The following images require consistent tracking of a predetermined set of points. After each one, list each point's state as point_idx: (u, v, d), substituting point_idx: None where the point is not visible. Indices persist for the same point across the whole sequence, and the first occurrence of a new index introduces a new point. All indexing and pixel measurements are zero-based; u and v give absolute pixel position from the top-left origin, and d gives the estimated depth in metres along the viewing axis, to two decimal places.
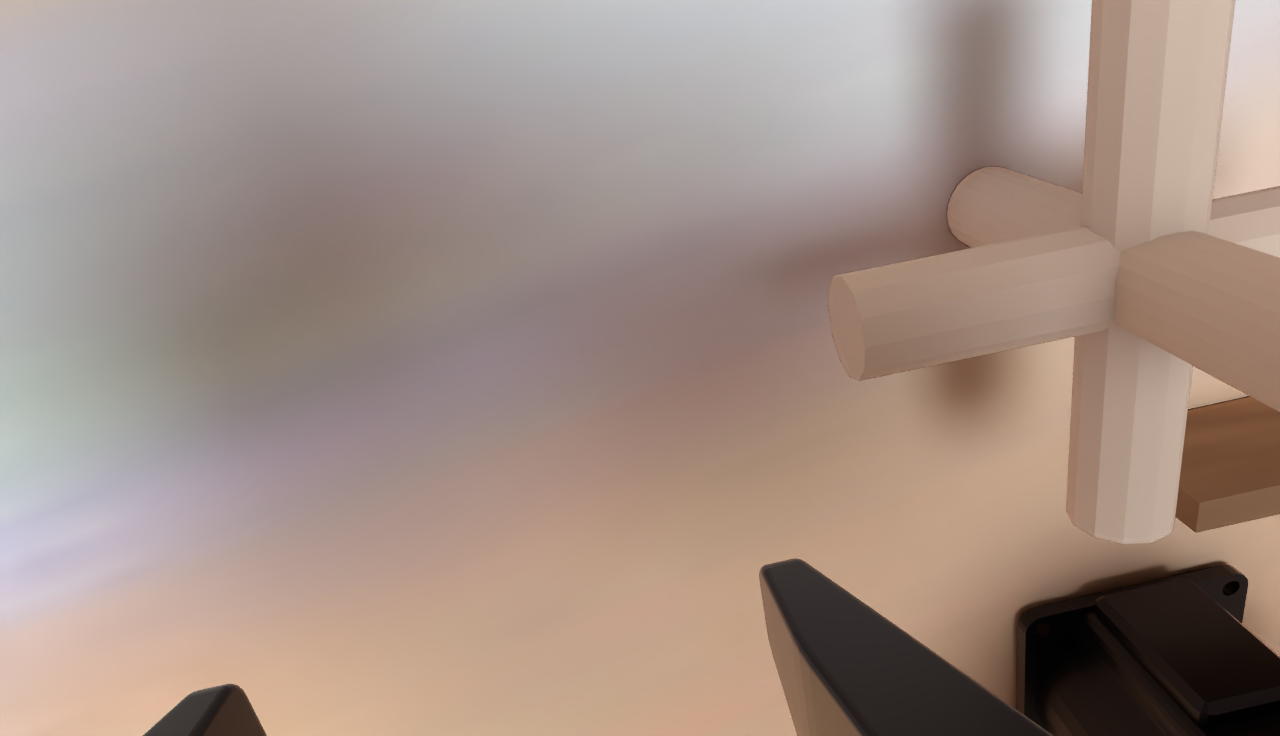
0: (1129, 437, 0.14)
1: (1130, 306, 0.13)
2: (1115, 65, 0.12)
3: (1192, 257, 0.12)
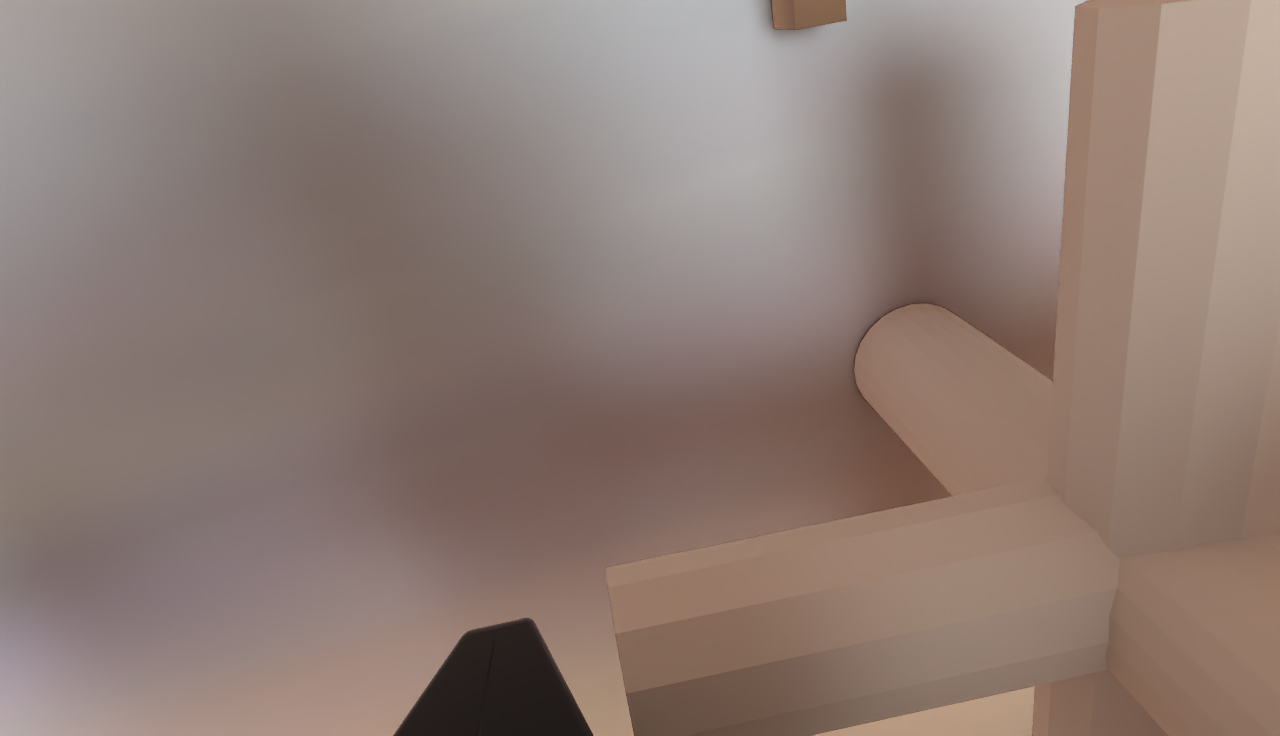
0: None
1: (1139, 678, 0.07)
2: (1115, 228, 0.06)
3: (1268, 626, 0.06)
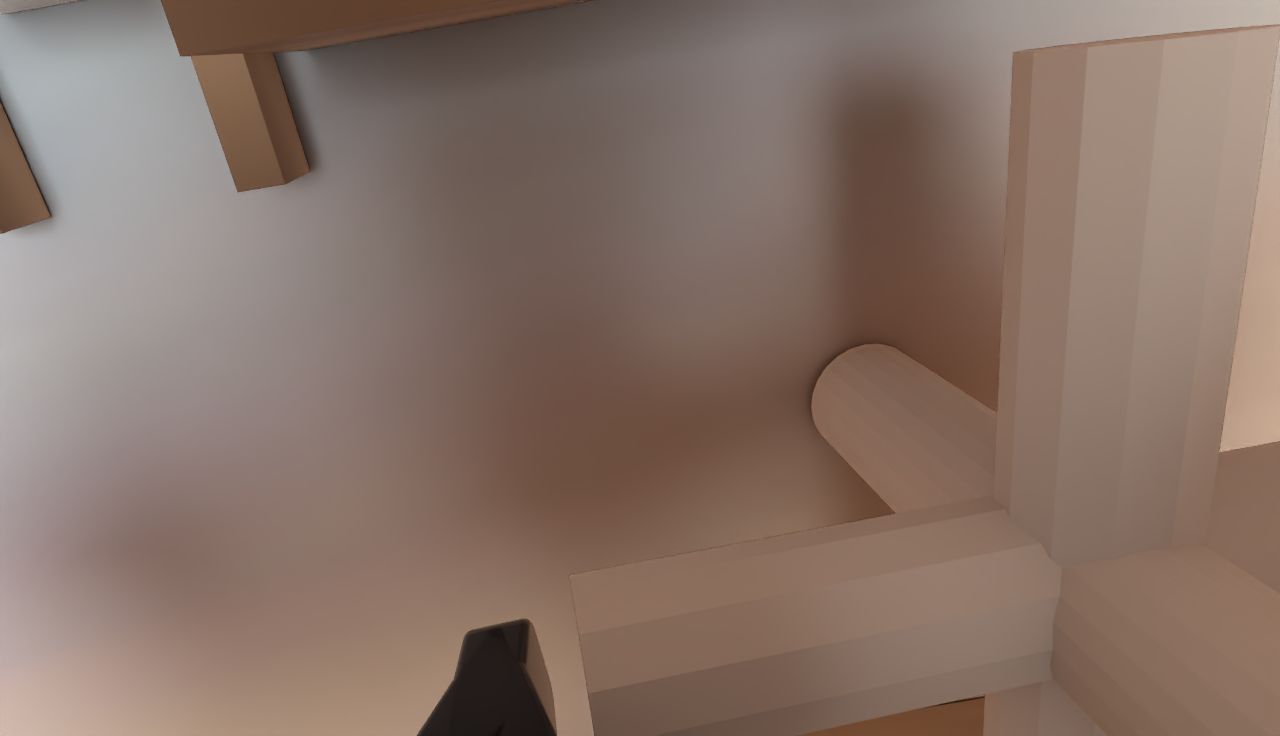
0: None
1: (1081, 681, 0.07)
2: (1051, 251, 0.07)
3: (1197, 623, 0.06)
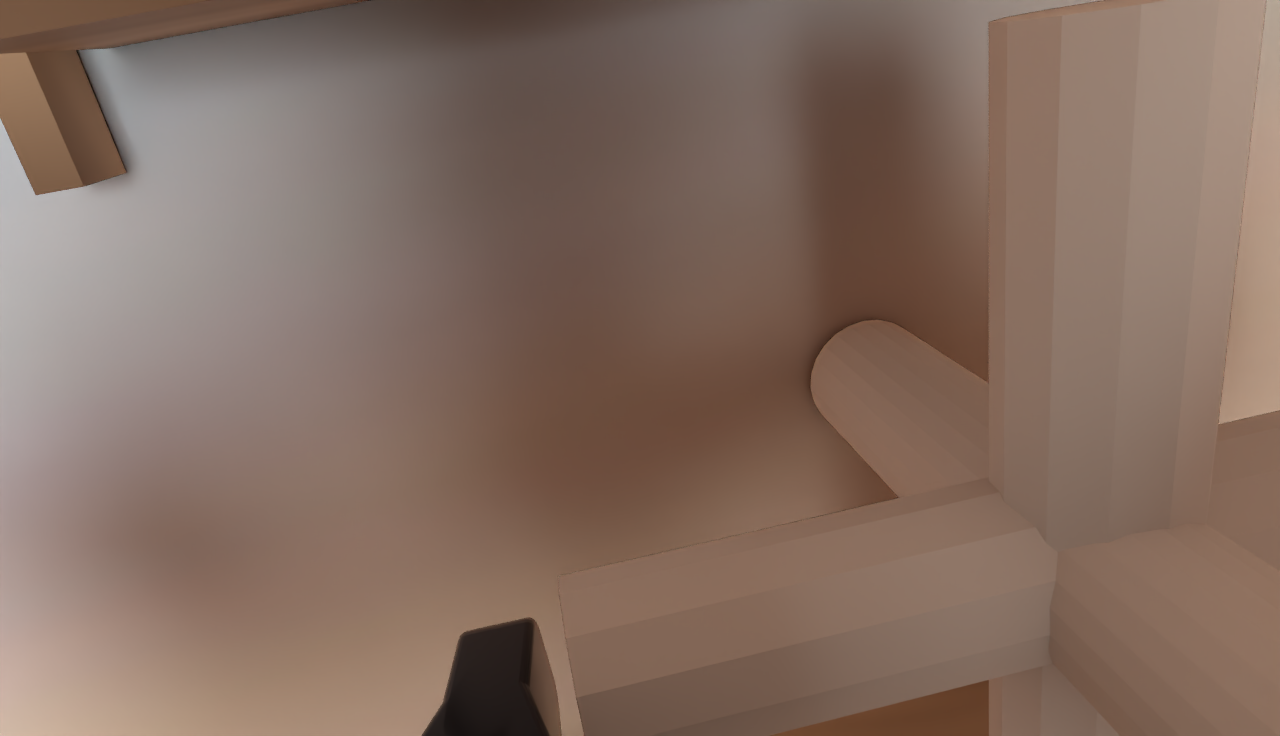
0: None
1: (1078, 666, 0.07)
2: (1034, 229, 0.06)
3: (1194, 608, 0.06)
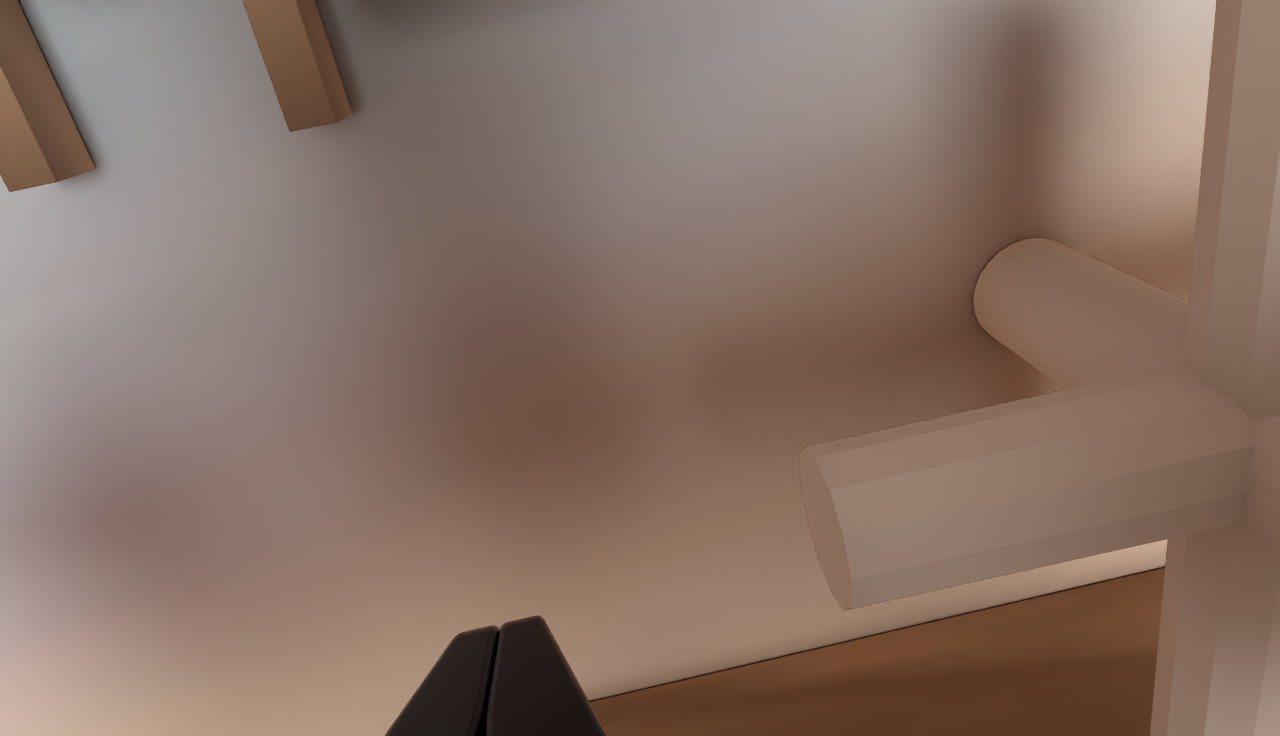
0: (1258, 678, 0.09)
1: (1278, 516, 0.08)
2: (1258, 134, 0.07)
3: None
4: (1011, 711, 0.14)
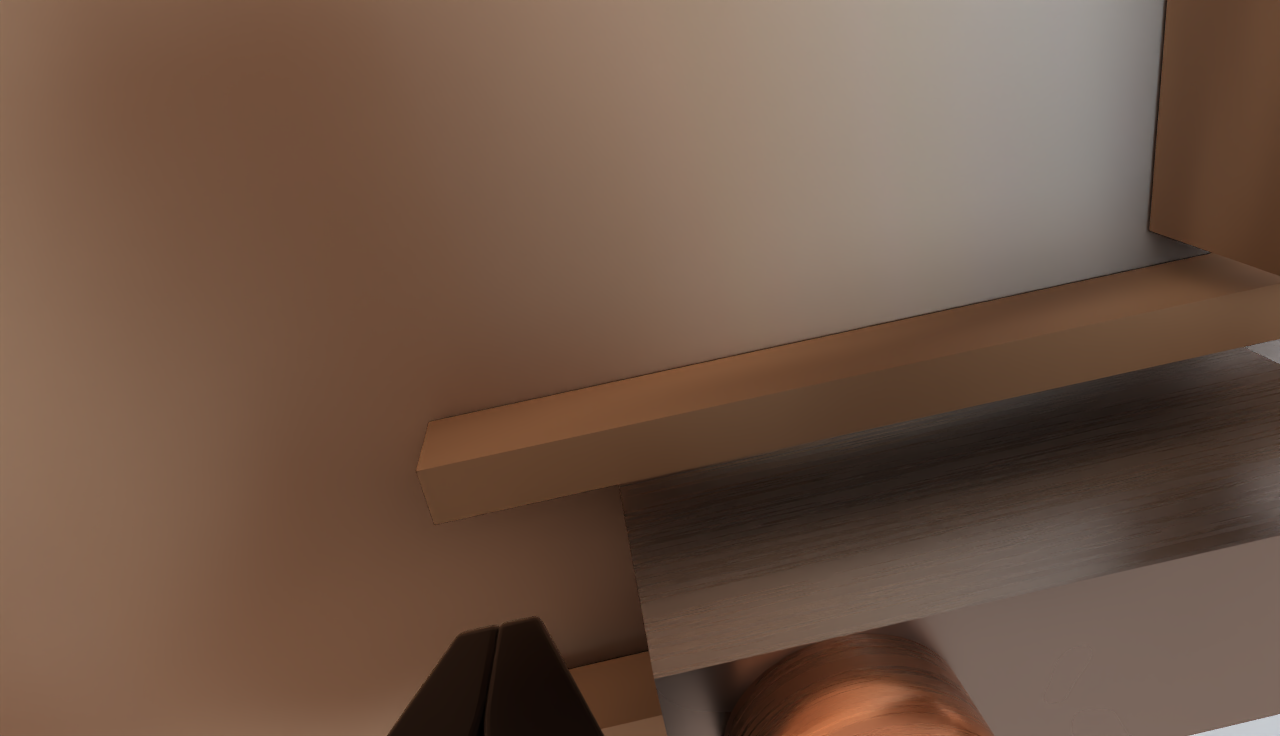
0: None
1: None
2: None
3: None
4: None
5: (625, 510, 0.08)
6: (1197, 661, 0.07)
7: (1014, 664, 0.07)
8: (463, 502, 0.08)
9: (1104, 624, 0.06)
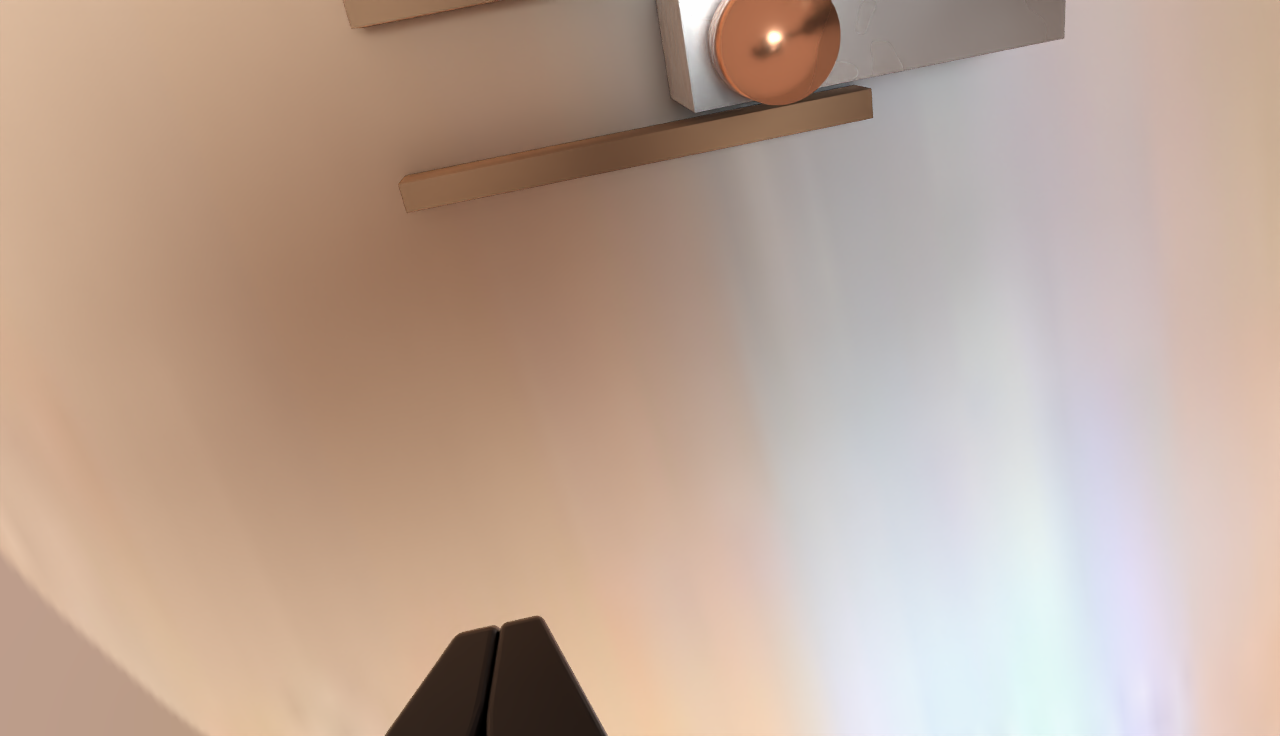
0: None
1: None
2: None
3: None
4: None
5: None
6: (927, 15, 0.15)
7: (839, 5, 0.14)
8: (365, 15, 0.16)
9: None
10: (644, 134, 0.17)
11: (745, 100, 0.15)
